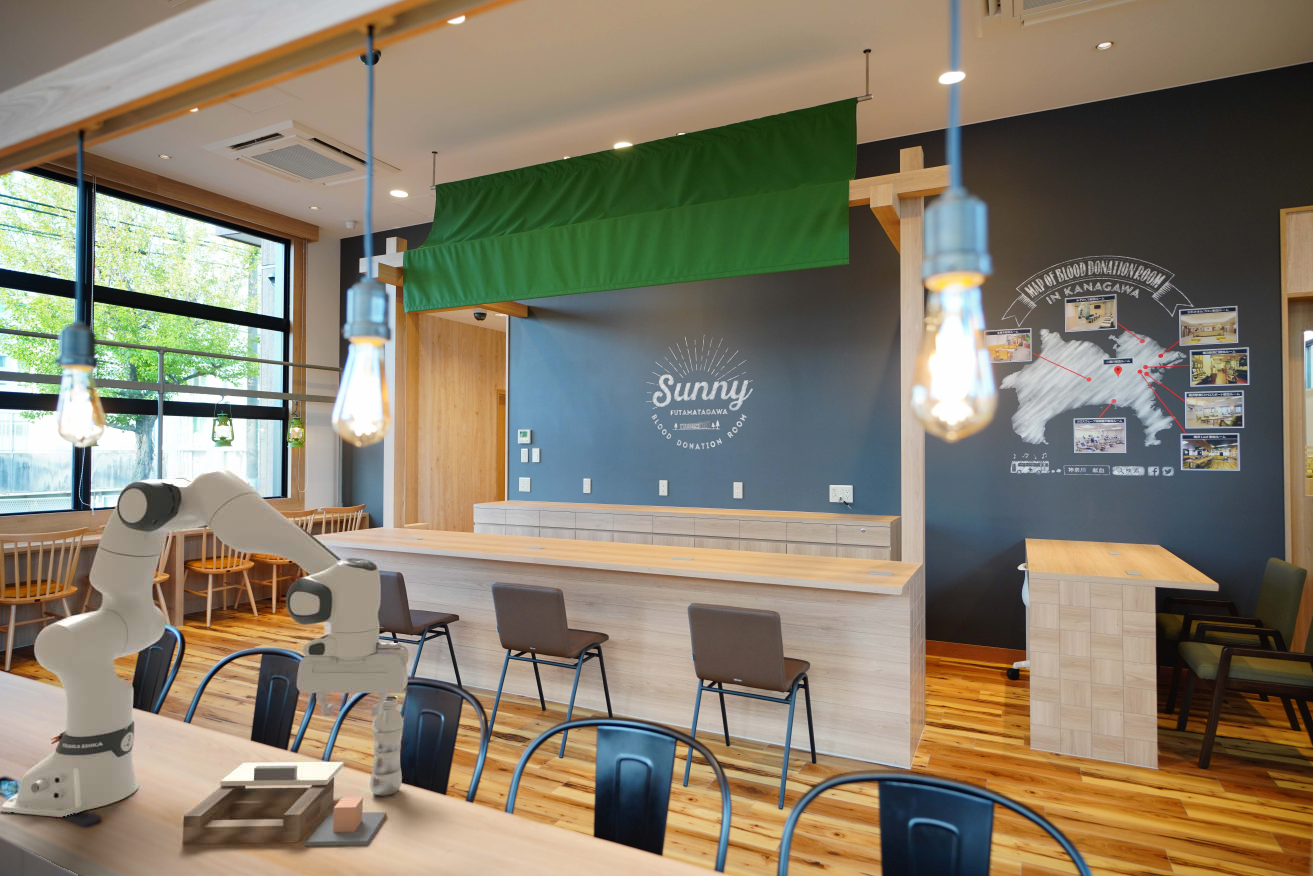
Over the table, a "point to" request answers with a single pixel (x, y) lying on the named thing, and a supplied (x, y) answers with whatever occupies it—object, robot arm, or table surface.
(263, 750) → the table surface
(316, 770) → the lid
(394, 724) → the plastic bottle
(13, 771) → the table surface
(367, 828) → the coaster
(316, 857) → the table surface
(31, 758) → the table surface
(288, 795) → the wooden box
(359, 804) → the block
